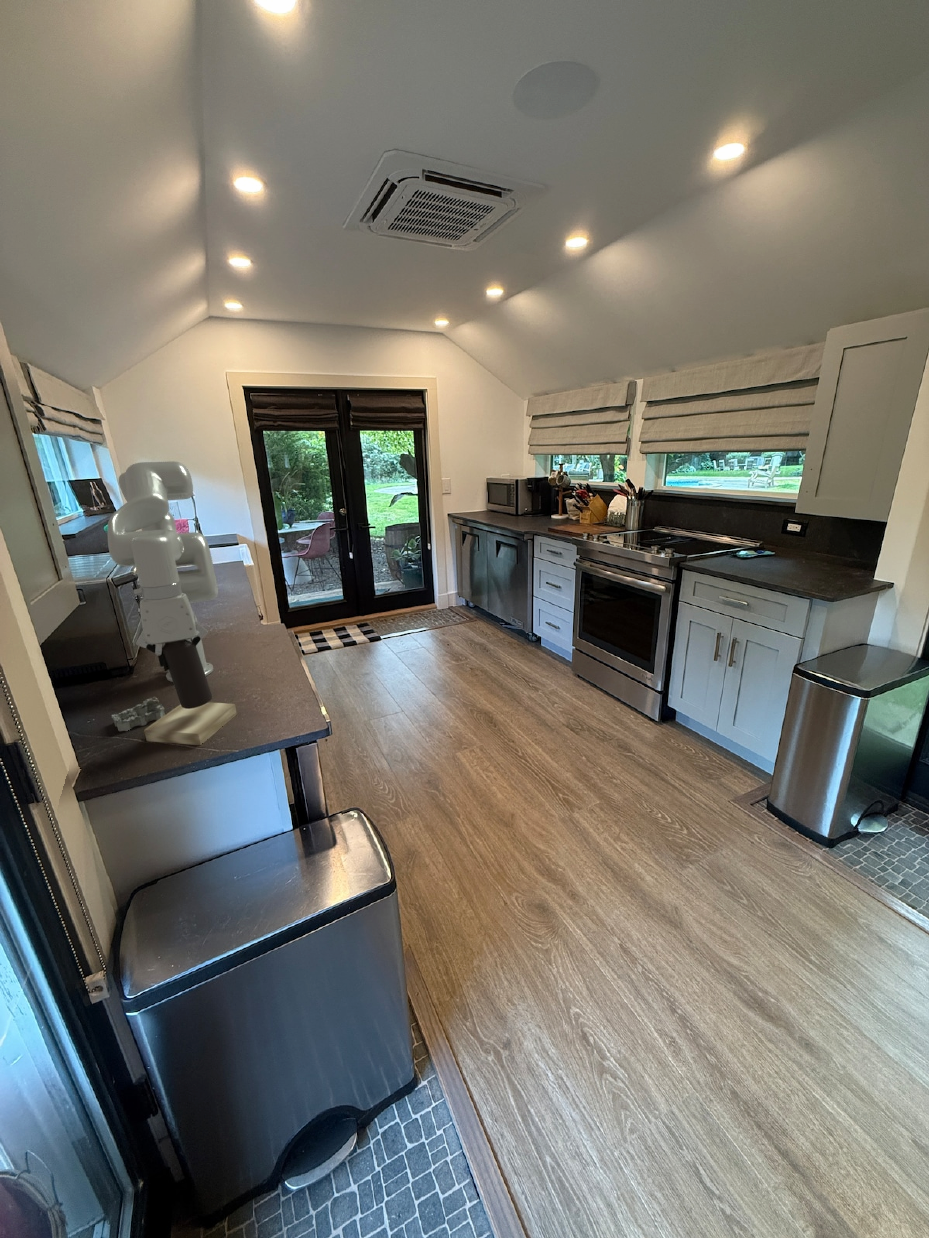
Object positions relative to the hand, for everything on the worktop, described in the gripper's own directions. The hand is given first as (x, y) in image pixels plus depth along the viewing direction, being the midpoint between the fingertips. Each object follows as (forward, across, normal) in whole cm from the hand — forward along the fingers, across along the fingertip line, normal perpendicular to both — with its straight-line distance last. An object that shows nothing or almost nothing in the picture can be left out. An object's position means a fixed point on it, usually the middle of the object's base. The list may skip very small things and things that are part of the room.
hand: (179, 665), depth 115 cm
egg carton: (+17, -12, +10) cm, 23 cm away
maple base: (+16, 0, 0) cm, 16 cm away
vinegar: (+10, +2, 0) cm, 10 cm away
